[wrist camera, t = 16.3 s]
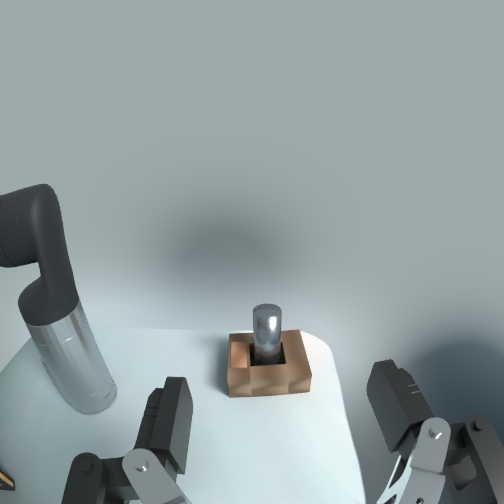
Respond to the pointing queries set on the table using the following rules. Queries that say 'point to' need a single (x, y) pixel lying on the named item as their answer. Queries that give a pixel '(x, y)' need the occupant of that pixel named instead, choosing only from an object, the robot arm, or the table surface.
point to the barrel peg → (267, 334)
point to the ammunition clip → (6, 482)
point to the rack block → (267, 367)
